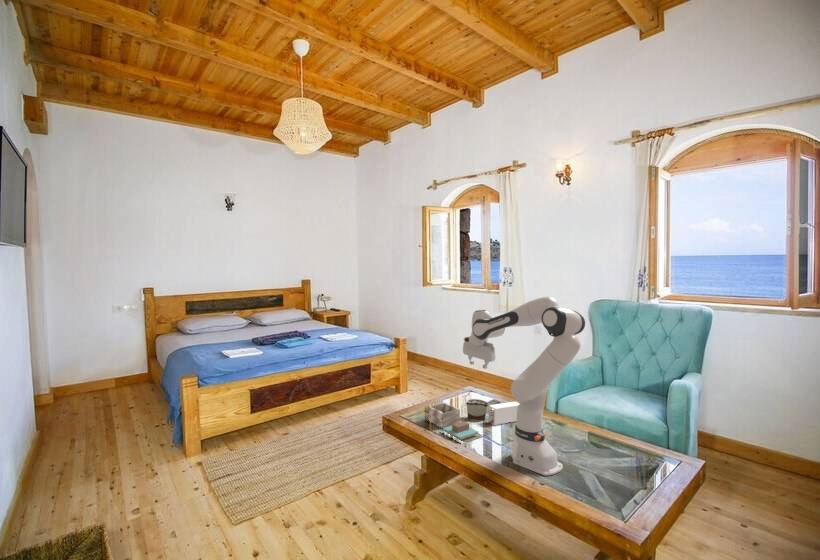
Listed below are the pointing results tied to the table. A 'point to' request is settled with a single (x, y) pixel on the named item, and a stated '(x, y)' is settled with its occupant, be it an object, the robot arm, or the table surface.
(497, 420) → the cigarette display
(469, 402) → the food container
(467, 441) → the mat
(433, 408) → the box
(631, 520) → the table surface
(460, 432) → the lid
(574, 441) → the table surface
